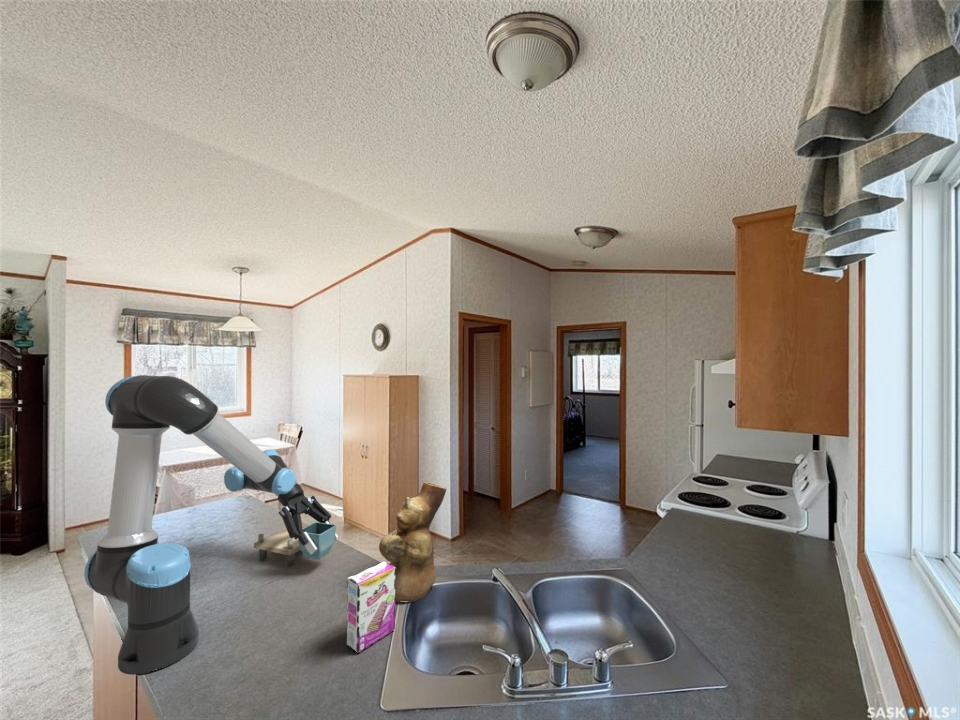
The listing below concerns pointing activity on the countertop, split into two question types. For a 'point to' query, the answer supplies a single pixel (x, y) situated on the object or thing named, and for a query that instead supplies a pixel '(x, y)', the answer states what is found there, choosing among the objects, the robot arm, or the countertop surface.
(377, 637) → the candy bar box
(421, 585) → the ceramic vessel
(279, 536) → the plant stand
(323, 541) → the flower pot
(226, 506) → the countertop surface
